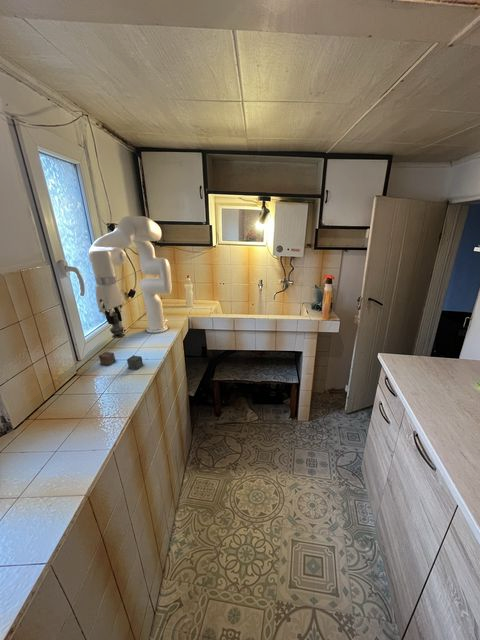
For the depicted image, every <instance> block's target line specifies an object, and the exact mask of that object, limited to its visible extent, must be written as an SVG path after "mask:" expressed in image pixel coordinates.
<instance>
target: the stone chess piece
mask: <svg viewBox="0 0 480 640" xmlns="http://www.w3.org/2000/svg"><path fill="white" fill-rule="evenodd" d="M112 315H113V316H114V319H115V324H114V325H113V324H111V327H110V328H109V331H110V333H111V334H112V336H111V338H113V339H120V338H124V337H125V333H124V330H125V327H124V326H122V325H121V324H120V321H119V319H118V315H117V313H115V311H114V310H112Z"/></svg>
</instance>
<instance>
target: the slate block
mask: <svg viewBox="0 0 480 640" xmlns="http://www.w3.org/2000/svg"><path fill="white" fill-rule="evenodd" d="M126 362H127V367H128V369H130V370H139V369H140V368H141V367H143V366H144V361H143V357H142V356H141V355H132V356H130V357H129V358H126Z"/></svg>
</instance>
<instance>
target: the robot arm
mask: <svg viewBox="0 0 480 640" xmlns="http://www.w3.org/2000/svg"><path fill="white" fill-rule="evenodd" d="M162 235H163V234H162V229H161V227H160V226H159V224H158V223H157V222H155V221H154V220H152V219H151V218H149V217H147V216H144V215H143V216H142V215H141V216H140V215H125V216H124V217H122V218H121V220H120V221H119V222H118V224H117V225H116V226H115V228H114V230H113V231H110V232H108V233H106V234H104V235H102V236H100V237H99V238H97V239H96V240H94V242H93V243H92V244H91V245H90V248H89V250H88V259H89V261H90V262H91V267H92V271H93V275H94V280H95V283H96V285H95V299H96V304H97V308H98V312H99V313H101V314H103V315H104V316H106V320H107V323H108V325H112V324H113V325H114V324H115V319H114V316H113V315H112V311H114V312H115V313H117V315H118V319H119V322H123V318H122V308H123V306H124V301H123V296H122V293H121V288H120V285H119V284H118V281H117V277H116V272H115V268H114V267H118V266H119V267H120V266H123V265H125V263H126V261H127V254H126V252H125V250H124V249H127V248H129V247H130V246H131V245H132V244H134V245H135V246H136V248H137V253H138V260H139V268H140V271H141V273H142V274H143V275H147V276H148V277H147V276H146V277H143V278H142V279H140V280H139V289H140V292H141V294H142V297H143V302H144V308H145V314H146V321H147V325H148V326H147V327H146V328H145V330H146V332H147V333H151V334H159V333H163V332H166V331H167V330H168V329H169V327H168V325H167V324H166V323H168V322H169V320H168V319H167V318H165V316H164V310H163V308H164V307H163V303H162V299H161V298H160V296H159V295H163V296H165V295H170V294H171V293H172V291H173V284H172V283H173V282H172V273H171V265H170V262H169V260H168V259H167V258H165V257H157V256H156V251H155V247H154V246H153V244H152V242H158V241H160V240H161V238H162ZM149 276H150V277H149ZM151 276H152V277H151ZM153 276H154V277H153ZM155 276H160V277H155Z"/></svg>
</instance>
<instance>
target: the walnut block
mask: <svg viewBox="0 0 480 640" xmlns="http://www.w3.org/2000/svg"><path fill="white" fill-rule="evenodd" d="M98 359H99V362H100V365H104V366H111V365H112V364H113V363H115V362H116V357H115V353H114V352H110V351H104V352H102V353H100V354H99V355H98Z"/></svg>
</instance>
